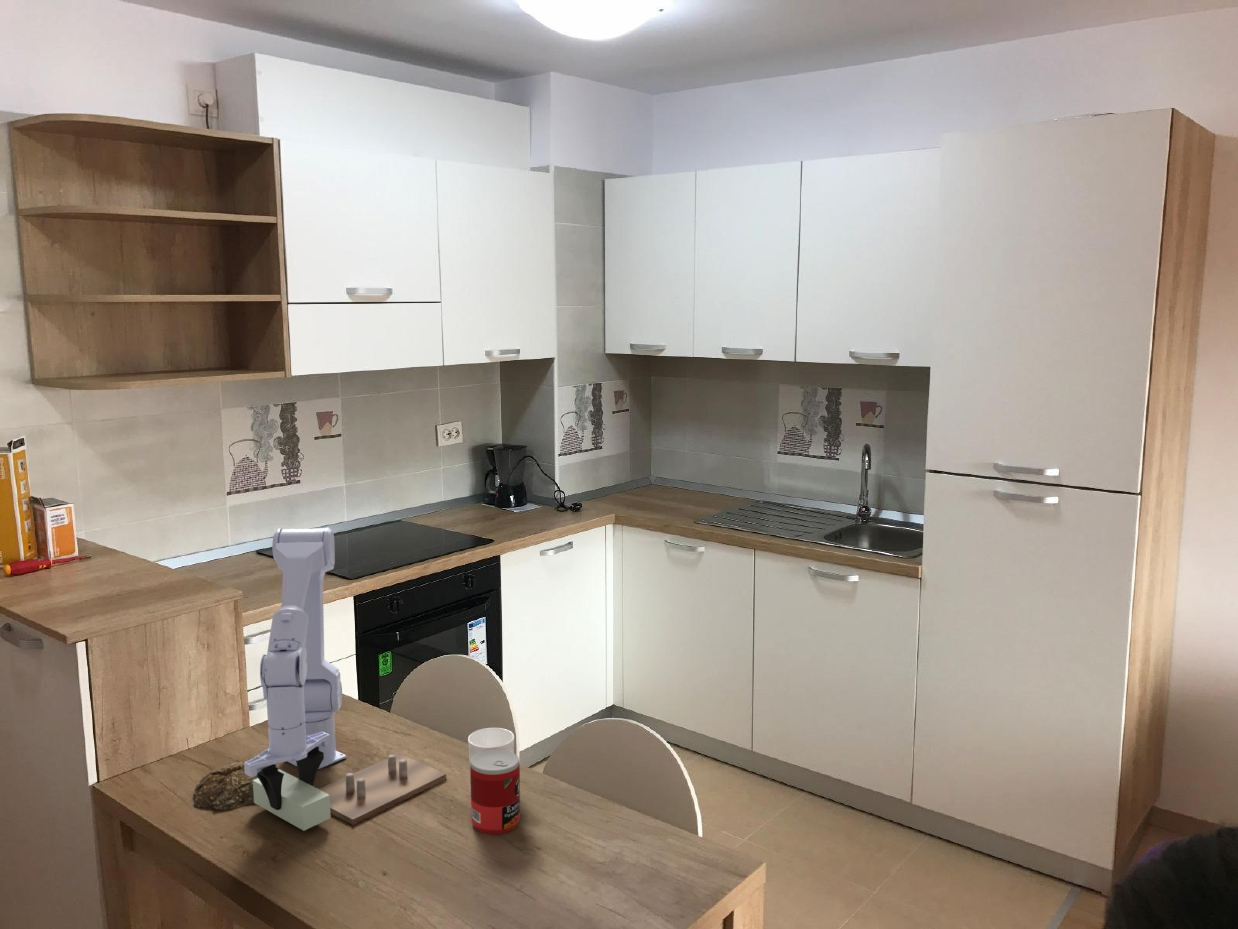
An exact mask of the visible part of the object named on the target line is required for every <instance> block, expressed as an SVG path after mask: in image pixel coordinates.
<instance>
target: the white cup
mask: <svg viewBox="0 0 1238 929" xmlns="http://www.w3.org/2000/svg"><path fill="white" fill-rule="evenodd" d="M467 744H468V757H469V759H468V760H469V764H470V763H471V758H472V757H473V756H474V755H476V754H477V753H480V752H483V751H487V750H506V751H510V752H512V753H515V734H514V732H512V731H511V730H509V729H506V728H502V727H487V728H485V727H484V728H481V729H477V730H475V731H473V732H472V733H470V734H469V735H468V738H467Z"/></svg>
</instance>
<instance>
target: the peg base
mask: <svg viewBox="0 0 1238 929" xmlns="http://www.w3.org/2000/svg"><path fill="white" fill-rule="evenodd" d="M443 780H444V781H445V780H447V774H446V773H444V772H442V771H440V770H438V769H435V768H433V767H431V766H429V765H426V764H424V763H422V762H420V761H417V760H415V759H413V758H410V757H408V756H405V755H404V754H402V753H397V754H389V755H388V756H387V758H385V759H383V760H380V761H378V762H376V763H373V764H371V765H369V766H367V767H365V768H362V769H361V770H357V772H354V773H352V772H348V773H346V774H345V777H342V778H340V779H337V780H335V781H333V782H331V783H328V784H326V785H324V786H322V787H319V788H318V789H319V790H321V791H323V792H325V793H327V794H329V795H330V814H331V815H333V816H335V817H337V818H338V819H340V820H341V821H342V820H343V821H345V822H346V821H347V823H349V825H351V826H354V825H357V824H359V823H360V821H361V822H363V821H364V819H365V820H367V819H369V818H371V817H373V816H374V815H373V814H375V815H377V814H378V812H379V811H381V812H383V811H386V810H387V809H389V808H391V807H393V806H395V805H398V804H400V803H401V802H403V801H406V800H407V799H409V798H411V797H413V796H415V795H417V794H420V793H422V792H423V791H422V790H424V791H425V789H426V790H427V789H429V787H430V788H431V787H433V786H436V785H437V784H440V783H442V782H443ZM435 784H436V785H435ZM421 791H422V792H421ZM419 792H420V793H419ZM414 794H415V795H414ZM408 797H409V798H408ZM406 798H407V799H406ZM400 801H401V802H400ZM394 804H395V805H394ZM392 805H393V806H392ZM390 806H391V807H390ZM386 808H387V809H386ZM376 813H377V814H376ZM379 813H380V812H379ZM372 815H373V816H372ZM366 818H367V819H366ZM358 822H359V823H358Z"/></svg>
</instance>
